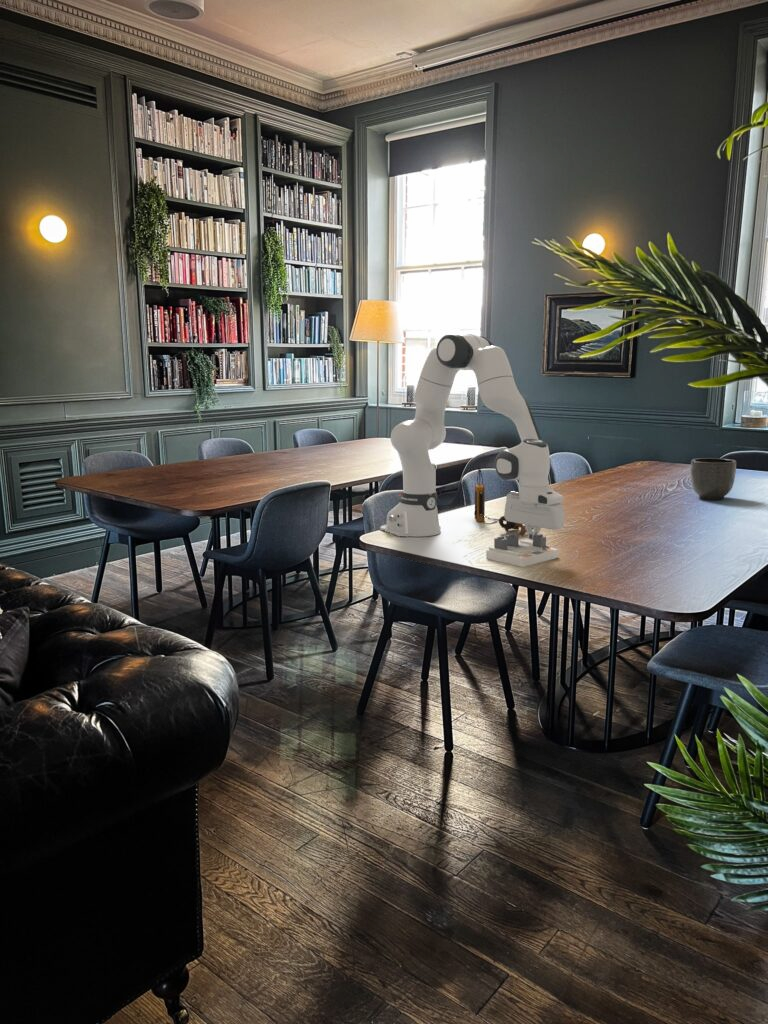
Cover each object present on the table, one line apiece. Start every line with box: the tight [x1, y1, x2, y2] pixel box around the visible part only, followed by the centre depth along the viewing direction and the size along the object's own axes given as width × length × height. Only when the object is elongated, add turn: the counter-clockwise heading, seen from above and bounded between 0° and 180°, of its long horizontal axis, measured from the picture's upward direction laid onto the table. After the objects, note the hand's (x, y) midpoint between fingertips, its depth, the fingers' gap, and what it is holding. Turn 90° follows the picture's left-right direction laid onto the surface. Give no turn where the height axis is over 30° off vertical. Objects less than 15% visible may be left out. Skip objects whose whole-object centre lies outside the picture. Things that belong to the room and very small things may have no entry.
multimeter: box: [473, 465, 500, 525], centre depth 281 cm, size 15×10×20 cm
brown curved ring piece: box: [498, 515, 534, 536], centre depth 261 cm, size 12×10×8 cm
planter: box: [690, 457, 737, 501], centre depth 318 cm, size 17×17×16 cm
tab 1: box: [493, 535, 508, 550], centre depth 226 cm, size 3×2×4 cm
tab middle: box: [505, 532, 520, 547], centre depth 229 cm, size 3×2×4 cm
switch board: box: [485, 539, 559, 568], centre depth 227 cm, size 14×16×3 cm
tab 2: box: [532, 533, 547, 549], centre depth 228 cm, size 3×2×4 cm
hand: (532, 539), depth 230 cm, fingers closed
